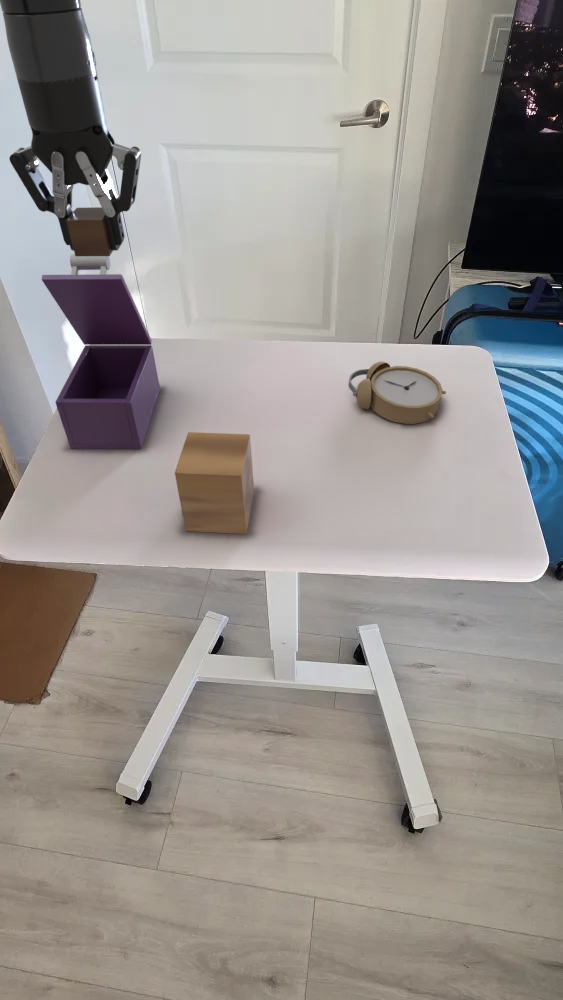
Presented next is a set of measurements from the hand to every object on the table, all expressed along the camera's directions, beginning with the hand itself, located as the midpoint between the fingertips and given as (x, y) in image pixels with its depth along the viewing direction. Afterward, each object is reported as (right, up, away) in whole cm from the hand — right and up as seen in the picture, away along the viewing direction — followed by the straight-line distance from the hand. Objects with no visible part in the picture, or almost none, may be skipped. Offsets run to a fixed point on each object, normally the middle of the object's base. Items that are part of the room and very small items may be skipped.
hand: (96, 247), depth 72 cm
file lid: (-5, -2, +19) cm, 20 cm away
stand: (+13, -31, +11) cm, 35 cm away
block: (0, 0, 0) cm, 0 cm away
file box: (-5, -16, +27) cm, 32 cm away
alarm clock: (+39, -13, +29) cm, 51 cm away
